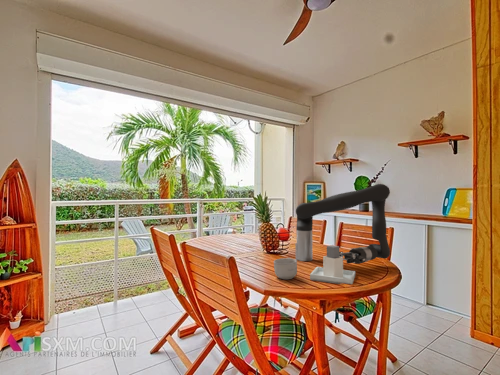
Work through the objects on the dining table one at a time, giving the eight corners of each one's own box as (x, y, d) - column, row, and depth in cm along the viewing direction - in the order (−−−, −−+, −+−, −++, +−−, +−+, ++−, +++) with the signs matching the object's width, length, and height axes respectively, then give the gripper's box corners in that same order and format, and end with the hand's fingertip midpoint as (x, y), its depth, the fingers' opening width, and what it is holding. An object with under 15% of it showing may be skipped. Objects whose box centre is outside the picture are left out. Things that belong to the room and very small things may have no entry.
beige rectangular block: (334, 279, 121) (334, 259, 121) (323, 275, 126) (323, 256, 126) (343, 276, 125) (343, 257, 125) (332, 273, 130) (332, 254, 130)
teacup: (291, 282, 119) (291, 264, 119) (269, 278, 125) (269, 261, 125) (303, 274, 131) (303, 258, 131) (282, 271, 136) (282, 255, 137)
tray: (310, 279, 123) (309, 274, 123) (316, 271, 135) (316, 266, 136) (352, 285, 115) (352, 279, 115) (355, 276, 128) (355, 271, 128)
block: (333, 276, 123) (333, 247, 123) (326, 274, 126) (326, 246, 126) (339, 275, 125) (339, 246, 125) (332, 272, 128) (332, 245, 128)
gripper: (348, 245, 143) (327, 248, 134) (373, 250, 131) (352, 254, 122) (348, 259, 143) (327, 264, 134) (373, 265, 131) (352, 271, 122)
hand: (339, 259), depth 128 cm, fingers open, 8 cm apart
